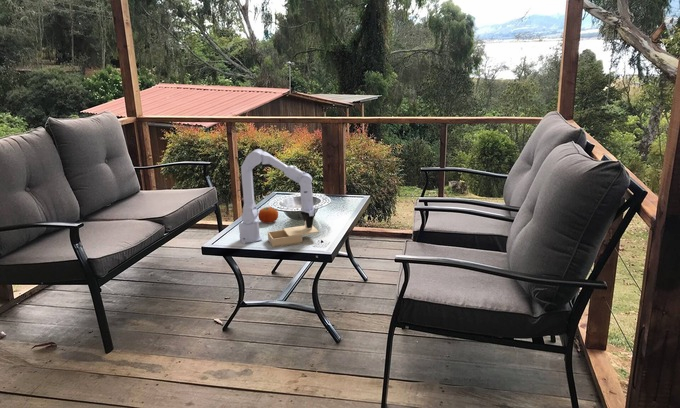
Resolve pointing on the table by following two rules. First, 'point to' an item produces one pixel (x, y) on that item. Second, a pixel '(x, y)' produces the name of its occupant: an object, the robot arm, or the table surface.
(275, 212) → the fruit
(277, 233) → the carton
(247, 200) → the robot arm
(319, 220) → the table surface
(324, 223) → the table surface
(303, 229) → the lid
